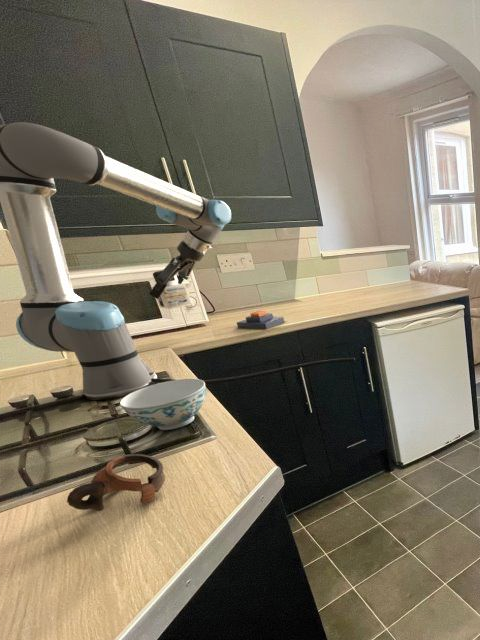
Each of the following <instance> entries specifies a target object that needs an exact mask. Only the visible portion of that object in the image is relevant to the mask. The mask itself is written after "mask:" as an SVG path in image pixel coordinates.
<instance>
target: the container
mask: <svg viewBox="0 0 480 640" xmlns="http://www.w3.org/2000/svg"><path fill="white" fill-rule="evenodd" d="M163 270H164V269H162V270H157V271H154V272H152V277H153V279H154V282H155V284H156V283H157V280H156V279H155V278H156V277H158V276H159V275H160V273H161V272H162V271H163ZM176 275H177V274H176ZM176 275H175V276H174V277H173V278H172V279H171V280H170V281H169V282H168V283H167V286H166V288H165V289H164V291H163V292H162V294H161V295H160V297H159V298H158V299H156V301H157V303H158V306H159V308H162V309H168V310H173V309H177V308H181V307H187V306H191V305H192V306H193V302H192V299H191V296H190V294H189V292H188V289H187V286H186V284H185V283H181V284H178V279H177V276H176ZM154 286H155V285H154ZM154 286H151V288H152V289H153V287H154Z"/></svg>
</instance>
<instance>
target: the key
mask: <svg viewBox="0 0 480 640" xmlns="http://www.w3.org/2000/svg"><path fill="white" fill-rule="evenodd" d="M266 313H267V311H266V310H256V311H253V312H251V313H250V316H251V317H261V316H264V315H267V314H266Z"/></svg>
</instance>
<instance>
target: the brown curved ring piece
mask: <svg viewBox="0 0 480 640" xmlns="http://www.w3.org/2000/svg"><path fill="white" fill-rule="evenodd" d="M122 463H128V465H129V466H131V465H137V464H143V463H145V464H147V465H149V466H150V467H151V469H155V470H156V471H155V472H154V473H152V474H151V475H149V476H148V477H147V482H145V483H142V479H141V478H129V477H124V476H121V475H119V474H116V473H115V472H114V470H115V469H116V468H117V467H118V466H119V465H120V464H122ZM165 480H166V474H165V472H164V467H163V463H162V462H161V461H160V460H159V459H157V458H155V457H153V456H150V455H147V454H143V453H130V454H129V453H128V454H125V455H123V454H122V455H121V456H117V457H114V458H112V459H111V460H110V461H109V462H107V463H106V466H104V467H102V468H101V469H100V470H98V472H97V473H95V475H94V476H93V478H92V480H91V481H90V482H88V483H82V484H80V485H78V486H76V487H75V488H73V489H72V490H71V491H69V492H68V496H67V499H66V502H67V503H68V506H70V507H72V508H74V509H76V510H79V511H80V510H81V511H88V510H93V511H96V512H102V511H104V509H105V507H104V496H106V495H108V494H111V493H114V492H118V491H127V492H140V494H141V497H140V503H141V504H146V503H151V502H152V501H153V500H154V498H155V497H156V493H158V492H159V491H160V490H161V489H162V488H163V485H164V483H165ZM87 496H88V498H87V499H84V498H85V497H87Z"/></svg>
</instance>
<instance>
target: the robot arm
mask: <svg viewBox="0 0 480 640" xmlns="http://www.w3.org/2000/svg"><path fill="white" fill-rule="evenodd" d="M55 179H62V180H70V181H74V182H79V183H81V184H84V185H87V186H94V185H99V186H101V187H104V188H106V189H109V190H113V191H115V192H117V193H120V194H124V195H126V196H129V197H132V198H134V199H137V200H140V201H143V202H145V203H148V204H151V205H153V206H155V212H156V215H157V217H158V218H159V219H160V220H162V221H164V222H167V223H169V224H171V225H172V224H173V225H175V226H178V227H181V228H183V229H187V232H186V233H185V234H184V236H183V237H182V240H181V241H180V242H179V244H178V245H177V247H176V249H177V251H178V252H179V255H176V256H175V257H172V258H171V260H170V261H169V263H168V264H167V265H166V266H165V268H164V269H162V270H163V271H162V270H161V271H162V272H161V273H160V275H159V276H158V277H156V278H155V279H156V280H157V283H156V282H155V284H154V287H153V286H152V287H153V288H152V289H151V290H150V291H149V293H148V295H150V296H151V297H153V298H154V299H156V300H157V299H158V298H159V297H160V295H161V294H162V292H163V291H164V289H165V288H166V286H167V283H168V282H169V281H170V280H171V279H172V278H173V277H174V276H175V275H176V276H177V279H178V284H183V282H184V280H185V281H187V280H189V277H190V275H191V273H192V271H193V269H194V267H195V265H196V263H197V262H201V261H202V259H203V258H204V257H205V255H206V252H208V250H211V249H212V247H211V246H212V244H213V243H214V241H215V240H216V239H217V238H218V236H219V235H220V233H221V232H222V231H223V229H224V227H225V226H226V225H227V224H229V223H230V222H231V220H232V211H231V209H230V207H229V205H228V204H227V203H226V202H224V201H223V200H219V199H213V198H212V199H208V198H205V197H203V196H201V195H197V194H195V193H193V192H191V191H188V190H187V189H184V188H182V187H180V186H176V185H174V184H172V183H170V182H168V181H165V180H164V179H161V178H158V177H156V176H154V175H152V174H150V173H146V172H145V171H142V170H140V169H138V168H135V167H133V166H131V165H128V164H126V163H124V162H121V161H119V160H117V159H114V158H112V157H111V156H107V155H105V153H104V152H103V150H102V149H100V148H99V147H96V146H94V145H92V144H90V143H88V142H86V141H83V140H80V139H79V138H76V137H73V136H71V135H69V134H66V133H64V132H61V131H60V130H56V129H53V128H51V127H47V126H45V125H41V124H37V123H32V122H26V121H19V122H12V123H6V124H0V205H1V209H2V213H3V216H4V220H5V223H6V227H7V230H8V233H9V237H10V241H11V244H12V247H13V251H14V255H15V259H16V262H17V265H18V268H19V272H20V276H21V280H22V283H23V286H24V290H25V295H24V297H22V298H21V299H20V300H19V304H20V308H21V313H20V314H19V316H17V318H16V321H15V327H16V330H17V333H18V334H19V336H20V337H21V338H22V339H23V340H24V341H25V342H26V343H27V344H30V346H33V347H35V348H37V349H41V350H46V351H48V352H49V351H50V352H58V353H59V352H67V353H74V354H75V356H76V358H77V361H78V362H79V364H80V366H81V370H82V391H83V394H84V396H85V398H86V399H87V400H90V401H105V400H113V399H117V398H118V399H119V398H124V397H125V396H127V395H129V394H130V393H132V392H135V391H137V390H139V389H142V388H145V387H148V386H151V385H154V384H158V383H162V382H167V381H172V380H176V378H175V379H172V378H158V376H157V374H156V373H155V371H154V370H153V369H152V368H151V367H150V366H149V365H148V364H147V362H145V361H144V359H142V358H141V356H140V355H139V352H138V349H137V348H136V345H135V343H134V339H133V338H132V336H131V333H130V331H129V329H128V326H127V324H126V320H125V316H123V314H122V313H121V310H120V309H119V307H118V306H117V305H116V304H114V303H111V302H108V301H101V300H96V301H95V300H93V301H90V300H89V301H85V300H84V298H83V297H81V296H79V295H77V294H76V293H75V290H74V287H73V283H72V279H71V275H70V271H69V268H68V263H67V259H66V255H65V251H64V248H63V243H62V240H61V236H60V232H59V229H58V224H57V220H56V215H55V213H54V212H55V211H54V208H53V204H52V201H51V197H52V196H53V195H55V194H56V193H57V187H56V183H55ZM155 279H154V280H155ZM344 362H345V363H346V362H356V358H355V357H348V358H347V357H346V358H334V359H326V360H325V359H324V360H318V361H317V360H316V361H311V362H306V363H300V364H295V365H289V366H285V367H279V368H274V369H270V370H265V371H261V372H255V373H251V374H243V375H239V376H232V377H225V378H216V379H208V380H204V379H203V381H204V382H205V385H209V384H220V383H227V382H234V381H241V380H247V379H251V378H258V377H262V376H266V375H272V374H277V373H281V372H285V371H291V370H295V369H301V368H307V367H311V366H317V365H324V364H325V365H326V364H332V363H333V364H334V363H344ZM161 381H162V382H161Z"/></svg>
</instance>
